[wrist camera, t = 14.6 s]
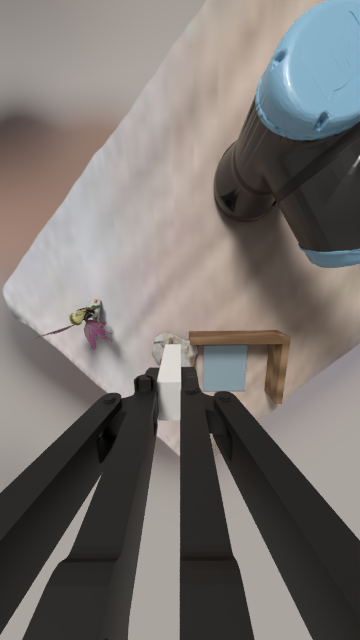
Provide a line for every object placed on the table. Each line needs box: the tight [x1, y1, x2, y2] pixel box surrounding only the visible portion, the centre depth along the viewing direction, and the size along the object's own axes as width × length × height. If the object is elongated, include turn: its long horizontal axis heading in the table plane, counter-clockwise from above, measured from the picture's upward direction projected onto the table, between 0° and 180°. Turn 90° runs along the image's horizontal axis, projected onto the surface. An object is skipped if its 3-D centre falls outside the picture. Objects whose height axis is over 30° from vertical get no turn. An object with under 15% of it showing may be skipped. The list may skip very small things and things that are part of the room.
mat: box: [203, 345, 248, 391], centre depth 49 cm, size 14×12×1 cm
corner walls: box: [189, 330, 290, 404], centre depth 46 cm, size 18×24×6 cm
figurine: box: [42, 299, 113, 350], centre depth 39 cm, size 14×8×15 cm, turn 83°
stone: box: [152, 333, 198, 367], centre depth 46 cm, size 12×9×3 cm
